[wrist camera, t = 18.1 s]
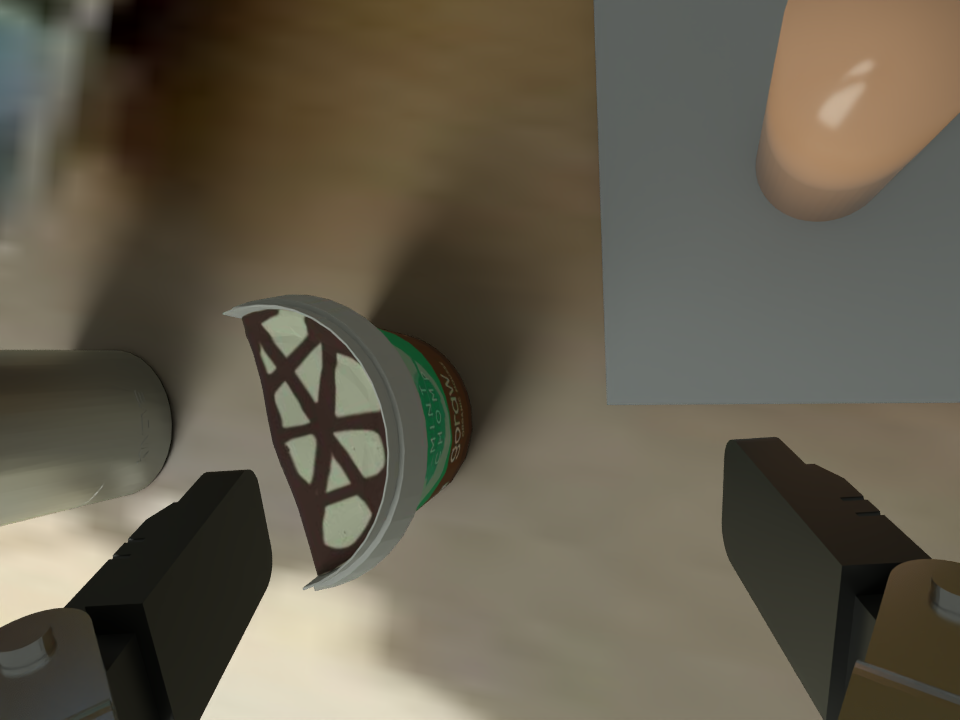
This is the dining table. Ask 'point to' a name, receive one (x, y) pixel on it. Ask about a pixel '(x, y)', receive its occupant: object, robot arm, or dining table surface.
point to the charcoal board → (755, 233)
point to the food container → (354, 425)
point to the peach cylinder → (854, 100)
